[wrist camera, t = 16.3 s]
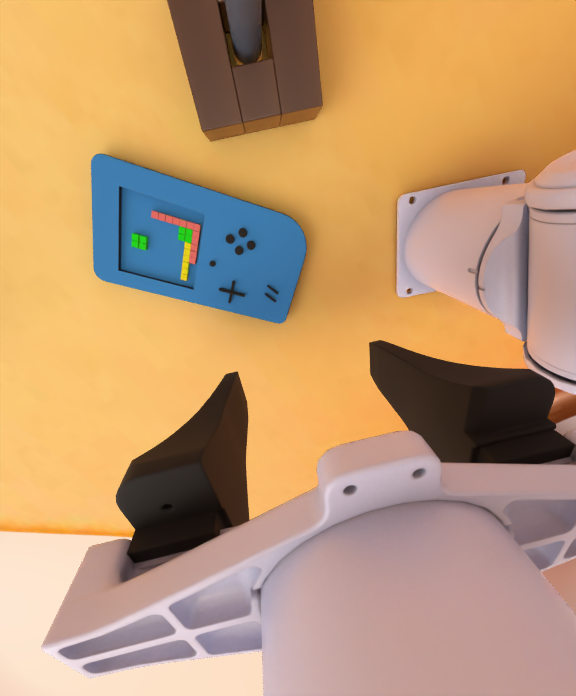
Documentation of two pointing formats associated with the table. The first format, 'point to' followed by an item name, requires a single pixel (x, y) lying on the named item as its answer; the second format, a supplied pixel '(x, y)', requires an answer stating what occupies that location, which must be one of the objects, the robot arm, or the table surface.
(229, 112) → the brown block with hole
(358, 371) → the table surface
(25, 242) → the table surface
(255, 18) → the dark grey cylinder rod
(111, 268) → the handheld gaming device
